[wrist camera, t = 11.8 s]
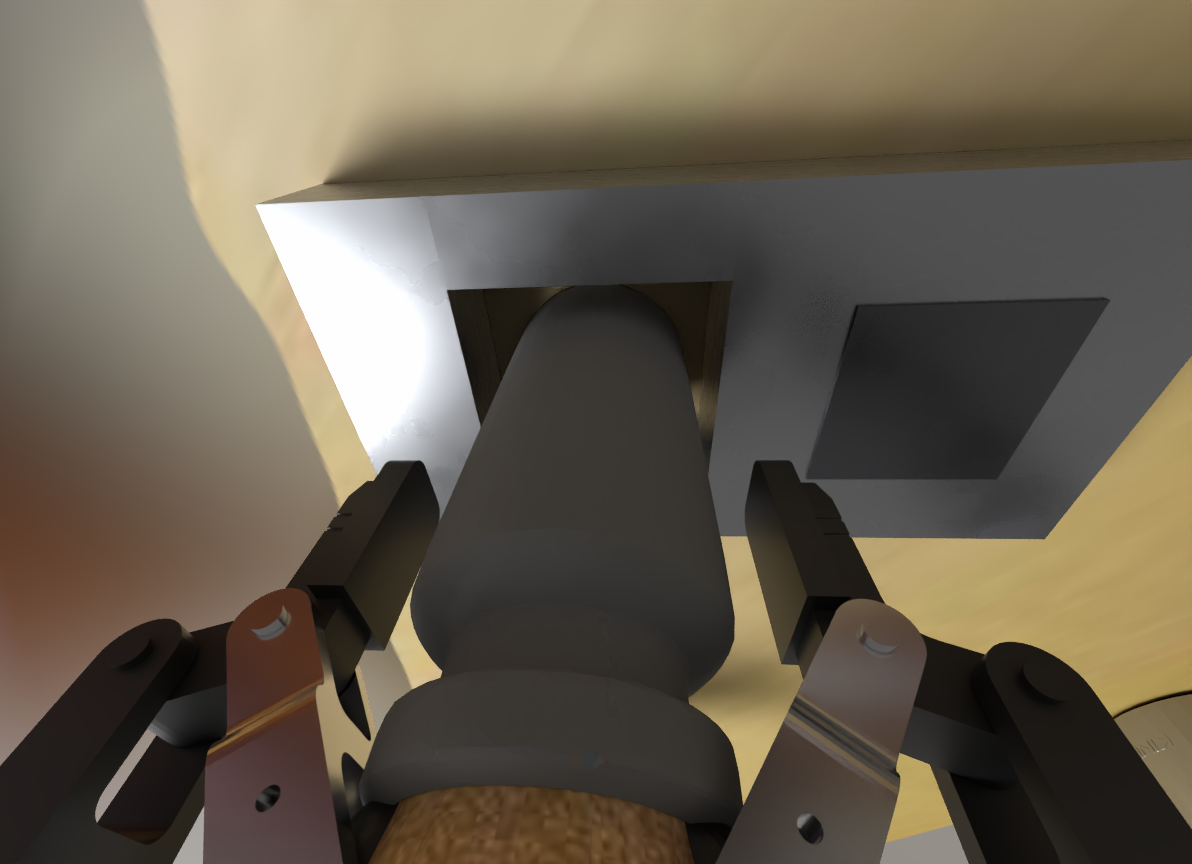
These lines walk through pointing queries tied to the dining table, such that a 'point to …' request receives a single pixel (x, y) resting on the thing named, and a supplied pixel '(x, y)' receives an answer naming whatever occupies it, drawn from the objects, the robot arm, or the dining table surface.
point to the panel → (793, 314)
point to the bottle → (569, 615)
